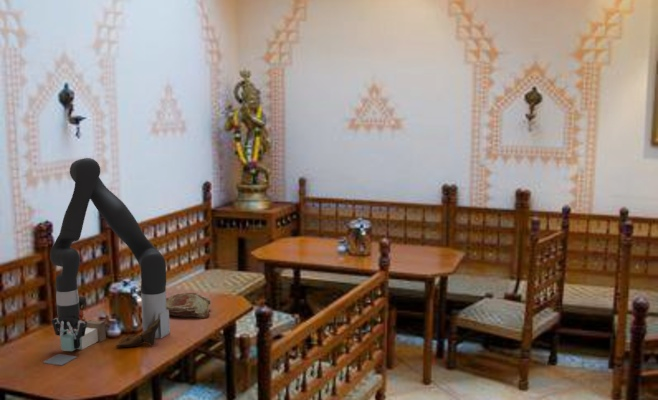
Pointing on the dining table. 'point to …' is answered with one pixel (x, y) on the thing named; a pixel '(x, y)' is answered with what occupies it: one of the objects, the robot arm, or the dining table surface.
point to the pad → (60, 359)
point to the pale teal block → (67, 342)
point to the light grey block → (93, 333)
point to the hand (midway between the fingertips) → (70, 347)
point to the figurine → (81, 307)
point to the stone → (188, 305)
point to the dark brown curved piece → (141, 337)
